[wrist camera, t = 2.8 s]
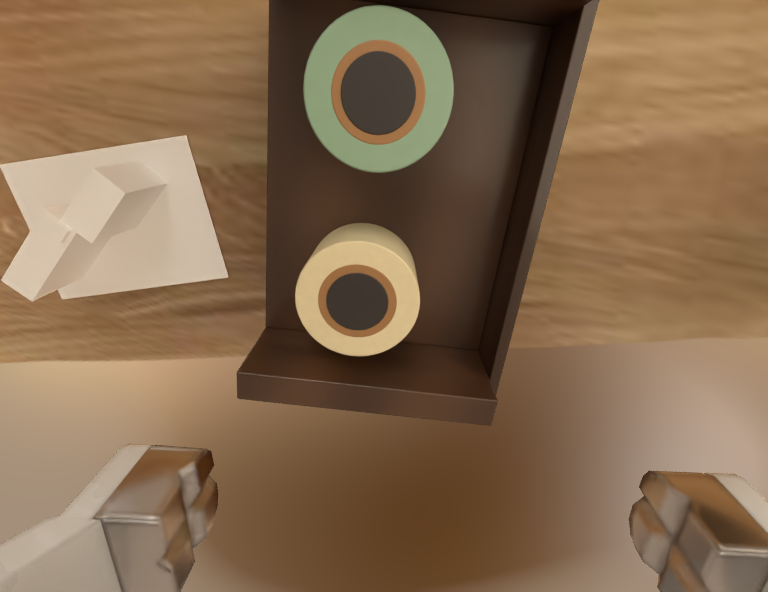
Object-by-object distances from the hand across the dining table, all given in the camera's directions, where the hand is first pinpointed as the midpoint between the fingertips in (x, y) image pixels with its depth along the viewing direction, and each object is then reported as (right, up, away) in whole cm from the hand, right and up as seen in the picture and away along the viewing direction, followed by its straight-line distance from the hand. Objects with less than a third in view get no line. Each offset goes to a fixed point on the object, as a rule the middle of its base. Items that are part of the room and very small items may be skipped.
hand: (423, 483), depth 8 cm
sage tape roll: (-1, +13, +12) cm, 18 cm away
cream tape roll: (-2, +5, +16) cm, 16 cm away
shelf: (0, +13, +23) cm, 26 cm away
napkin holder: (-22, +9, +25) cm, 35 cm away
